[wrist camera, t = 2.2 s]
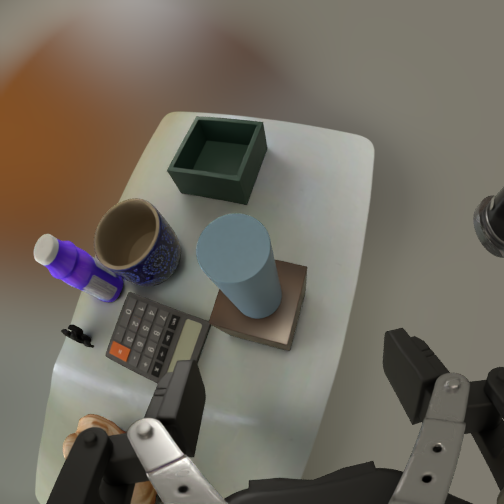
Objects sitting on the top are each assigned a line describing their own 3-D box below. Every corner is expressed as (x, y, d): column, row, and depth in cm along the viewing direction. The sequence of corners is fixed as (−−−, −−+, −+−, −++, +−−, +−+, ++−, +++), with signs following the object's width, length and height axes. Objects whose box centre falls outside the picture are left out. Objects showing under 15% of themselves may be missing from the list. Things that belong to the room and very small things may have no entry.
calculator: (128, 290, 48) (210, 321, 44) (131, 292, 48) (211, 322, 45) (104, 355, 44) (183, 395, 40) (107, 356, 45) (186, 395, 41)
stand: (246, 277, 47) (231, 249, 37) (305, 291, 45) (307, 266, 35) (229, 334, 44) (208, 323, 34) (289, 351, 42) (287, 345, 32)
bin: (206, 140, 58) (196, 116, 52) (267, 148, 55) (263, 122, 49) (180, 192, 54) (166, 170, 48) (246, 204, 51) (239, 181, 45)
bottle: (89, 290, 50) (22, 256, 34) (103, 263, 51) (41, 221, 35) (115, 309, 48) (46, 278, 32) (131, 280, 49) (67, 238, 33)
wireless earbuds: (71, 336, 47) (53, 331, 42) (75, 323, 48) (57, 318, 43) (99, 350, 45) (81, 346, 41) (103, 336, 46) (86, 331, 42)
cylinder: (265, 264, 35) (246, 200, 22) (290, 302, 33) (285, 256, 20) (226, 288, 35) (184, 237, 22) (249, 327, 33) (217, 297, 20)
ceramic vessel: (185, 431, 39) (137, 452, 25) (149, 546, 31) (106, 583, 17) (110, 395, 42) (48, 395, 29) (84, 508, 34) (32, 529, 20)
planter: (193, 282, 48) (164, 257, 37) (132, 299, 48) (94, 279, 38) (182, 222, 52) (156, 187, 42) (126, 241, 52) (92, 212, 42)
